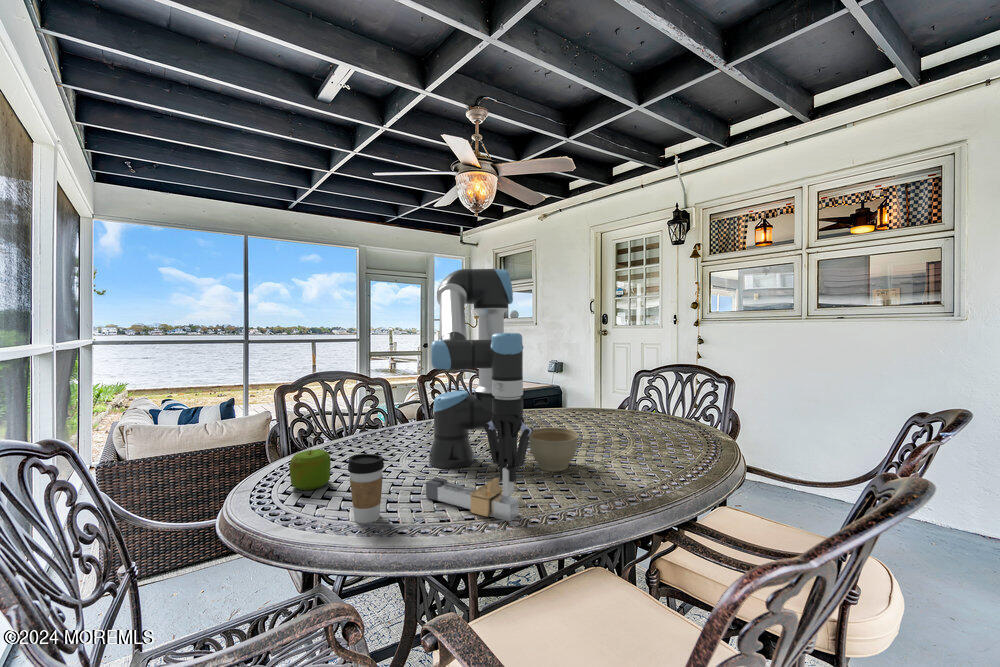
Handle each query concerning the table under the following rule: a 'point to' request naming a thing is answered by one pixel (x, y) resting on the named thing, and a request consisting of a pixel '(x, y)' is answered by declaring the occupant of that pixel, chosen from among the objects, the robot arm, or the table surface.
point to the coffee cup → (366, 486)
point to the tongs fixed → (498, 504)
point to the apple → (310, 469)
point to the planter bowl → (553, 447)
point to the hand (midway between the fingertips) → (508, 493)
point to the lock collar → (484, 497)
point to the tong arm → (453, 485)
